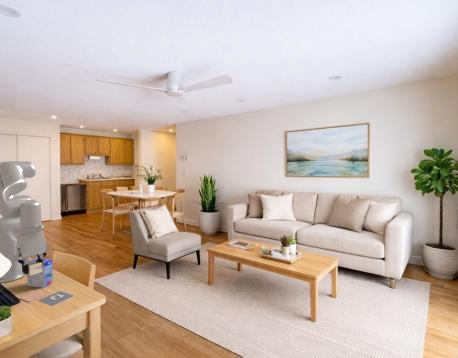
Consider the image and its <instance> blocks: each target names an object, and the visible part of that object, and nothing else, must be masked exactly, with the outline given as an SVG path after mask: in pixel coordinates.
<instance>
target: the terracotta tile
mask: <svg viewBox="0 0 458 358" xmlns="http://www.w3.org/2000/svg"><path fill="white" fill-rule="evenodd" d="M44 297H47V294H46V293H43V292H39V291H37V290H36V291H34V292H31V293H28V294H26V295H23V296H20V297H19V300H22V301H24V302H27V303H31V302H34V301H36V300H40V299H42V298H44Z"/></svg>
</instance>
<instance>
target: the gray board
mask: <svg viewBox="0 0 458 358" xmlns="http://www.w3.org/2000/svg"><path fill="white" fill-rule="evenodd" d="M73 297H75V295H74V294H70V293H67V292H64V291H61V290H60V291H57V292H55V293H51V294H49V295H46V296H44V297H41V298H39V299H37V301H38V302H40V303H43V304H45V305H47V306H51V307H53V306H56V305H58V304H60V303H61V302H64V301H66V300H68V299H70V298H73Z"/></svg>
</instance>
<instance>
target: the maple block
mask: <svg viewBox="0 0 458 358" xmlns="http://www.w3.org/2000/svg"><path fill="white" fill-rule="evenodd" d="M28 265H29V266H28V269H29V273H28V274H25V273H23V274H25V276H27V275H29V276H31V275H35V274H38V273H41V272H42V263H40V262H36V261H35V262H32V263H28Z"/></svg>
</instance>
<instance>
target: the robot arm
mask: <svg viewBox="0 0 458 358" xmlns="http://www.w3.org/2000/svg"><path fill="white" fill-rule="evenodd" d="M36 170H37V169H36V166H35V164H34V163H33V162H31V161H28V160H27V161H25V160H23V161H20V160H18V161H17V160H16V161H15V160H13V161H12V160H10V161H9V160H8V161H0V216H1V217H0V252H1V253H2V254H3V255H4V256H5V257H6V258H8V259H9V260H10V261H11V263H12V266H11V268H10V270H9V271H8V272H7V273H6V274H5V275H4V276H3V277H2V278H0V283H8V282H13V281H17V280H19V279H22V278H23V277H25V276H26V275H25V274H28V273H29V269H28V266H29V265H28V264H27V262H28V261H29V258H31V257H35V256H36V258H38V259H37V260H36V262H40V263H42V266H43V260H44V259H45V258H44V257H46V256H47V254H49V253H50V251H51V249H50V248H49V247H48V246H47V243H46V242H47V241H46V236H45V234H44V230H43V229H45V225H44V224H42V205H41V202H40V201H37V200H36V199H33V198H32V197H31V196H29V195H27V194H22V195H17V194H19V193H22V192H23V191H25V190H26V189H27V187H28V182H27V179H32V178H34V177H35V176H36V173H37V171H36ZM26 178H27V179H26ZM16 235H17V237H16ZM42 269H43V267H42ZM23 273H25V274H23Z"/></svg>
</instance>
